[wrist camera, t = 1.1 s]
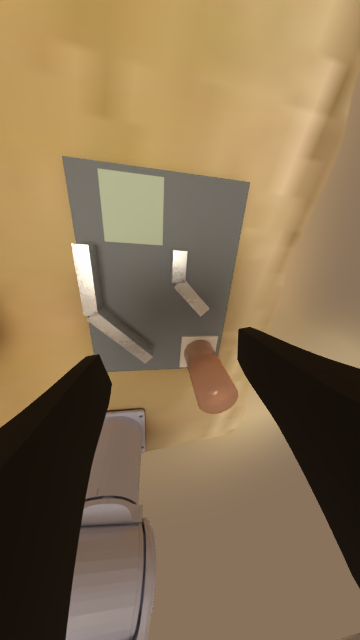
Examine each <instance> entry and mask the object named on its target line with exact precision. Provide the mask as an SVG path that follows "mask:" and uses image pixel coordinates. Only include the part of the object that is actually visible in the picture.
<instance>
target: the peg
mask: <svg viewBox="0 0 360 640" xmlns="http://www.w3.org/2000/svg"><path fill="white" fill-rule="evenodd" d="M184 357H185V360H186V364H187V367H188V371H189V374H190V378H191V381H192V385H193V388H194V392H195V396H196V399H197V403H198V406H199V408H200V409H201V410H202V411H204V412H206V413H210V414H216V413H221V412H223V411H226V410H228V409H229V408H230V407H232V406H233V405H234V404H235V402H236V400H237V398H238V391H237V389H236V387H235V385H234V384H233V382H232V380H231V379H230V377H229V375H228V373H227V372H226V370H225V368H224V366H223V365H222V363H221V361H220V359H219V358H218V356H217V354H216V353H215V351H214V349H213V347H212V346H211V344H210V343H209V342H207V341H205V340H195V341H193V342H191V343H189V344H188V345H187V347H186V348H185V351H184Z"/></svg>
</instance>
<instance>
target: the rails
mask: <svg viewBox="0 0 360 640" xmlns="http://www.w3.org/2000/svg"><path fill="white" fill-rule="evenodd" d="M71 245H72V250H73V256H74V262H75V268H76V274H77V279H78V285H79V291H80V297H81V303H82V309H83V314H84V316H90V317H89V318H88V319H87V321H88V322H90V323H91V324H92V325H94V326H95V327H97V328H98V329H99V330H101V331H102V332H103V333H105V334H106V335H107V336H109V337H110V338H111V339H113V340H114V341H115V342H117V343H118V344H119V345H121V346H122V347H123V348H125V349H126V350H127V351H129V352H130V353H131V354H133V355H134V356H135V357H137V358H138V359H139V360H141V361H142V362H143V363H147V362H148V361H149V360H150V359H151V358H152V357H153V346H152V345H150V344H149V343H148V342H147V341H145V340H144V339H143V338H142V337H141V336H139V335H138V334H137V333H136V332H134V331H133V330H132V329H131V328H130V327H128V326H127V325H126V324H125V323H123V322H122V321H121V320H120V319H119V318H117V317H116V316H115V315H114V314H113V313H111V312H110V311H109V310H108V309H106V308H105V307H104V306H103V299H102V291H101V282H100V274H99V266H98V257H97V249H96V245H94V244H71ZM186 264H187V251H184V250H171V262H170V280H171V282H172V285H173V287H174V288H175V289H176V291H177V292H178V293H179V294H180V295H181V296H182V297H183V298H184V299H185V300H186V301H187V302H188V304H189V305H190V306H191V307H192V308H193V309H194V310H195V311H196V312H197V313H198V314H199V315H200V317H201V316H202V315H203V314H204V313H205V312H207V311H208V310H209V309H210V308H209V307H208V306H207V305H206V304H205V303H204V301H203V300H202V299H201V298H200V297H199V296H198V294H197V293H196V292H195V291H194V290H193V289H192V288H191V286H190V285H189V284H188V283H187V282H186V281H185V277H186Z"/></svg>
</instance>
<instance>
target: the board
mask: <svg viewBox="0 0 360 640" xmlns="http://www.w3.org/2000/svg"><path fill="white" fill-rule="evenodd" d="M62 159H63V165H64V171H65V177H66V183H67V190H68V196H69V202H70V208H71V214H72V220H73V227H74V233H75V239H76V244H94V245H96V249H97V257H98V266H99V274H100V282H101V291H102V299H103V306H104V307H105V308H106V309H108V310H109V311H110V312H111V313H113V314H114V315H115V316H116V317H117V318H119V319H120V320H121V321H122V322H123V323H125V324H126V325H127V326H128V327H130V328H131V329H132V330H133V331H134V332H136V333H137V334H138V335H139V336H141V337H142V338H143V339H144V340H145V341H147V342H148V343H149V344H150V345H152V346H153V357H152V358H151V359H150V360H149V361H148V362H147V363H143V362H142V361H141V360H139V359H138V358H137V357H135V356H134V355H133V354H131V353H130V352H129V351H127V350H126V349H125V348H123V347H122V346H121V345H119V344H118V343H117V342H115V341H114V340H113V339H111V338H110V337H109V336H107V335H106V334H105V333H103V332H102V331H101V330H99V329H98V328H97V327H95V326H94V325H92V324H91V323H90V322H89V326H90V332H91V338H92V344H93V351H94V355H97V354H99V355H100V357H101V359H102V362H103V364H104V367H105V369H106V371H107V372H114V371H136V370H158V369H180V368H188V367H187V364H186V360H185V357H184V351H185V348H186V347H187V345H188V344H189V343H191V342H193V341H195V340H205V341H207V342H209V343H210V344H211V346H212V347H213V349H214V351H215V353H216V354H217V356H218V353H219V347H220V342H221V337H222V331H223V326H224V320H225V315H226V310H227V304H228V299H229V293H230V288H231V282H232V277H233V272H234V266H235V261H236V255H237V250H238V245H239V239H240V234H241V228H242V223H243V217H244V212H245V207H246V201H247V196H248V190H249V185H250V182H244V181H237V180H230V179H223V178H216V177H209V176H202V175H194V174H187V173H180V172H173V171H166V170H159V169H152V168H144V167H137V166H130V165H123V164H116V163H109V162H101V161H94V160H87V159H80V158H73V157H66V156H62ZM171 250H184V251H187V264H186V277H185V281H186V282H187V283H188V284H189V285H190V286H191V288H192V289H193V290H194V291H195V292H196V293H197V294H198V296H199V297H200V298H201V299H202V300H203V301H204V303H205V304H206V305H207V306H208V307H209V308H210V309H209V310H208V311H207V312H205V313H204V314H203V315H202V316H201V317H200V315H199V314H198V313H197V312H196V311H195V310H194V309H193V308H192V307H191V306H190V305H189V304H188V302H187V301H186V300H185V299H184V298H183V297H182V296H181V295H180V294H179V293H178V292H177V291H176V289H175V288H174V287H173V285H172V282H171V280H170V262H171ZM89 317H90V316H88V318H89Z"/></svg>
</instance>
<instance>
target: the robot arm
mask: <svg viewBox="0 0 360 640" xmlns="http://www.w3.org/2000/svg"><path fill="white" fill-rule="evenodd" d="M237 360H238V362H239V364H240V366H241V368H242V370H243V372H244V374H245V376H246V377H247V379H248V381H249V382H250V384H251V385H252V387H253V388H254V390H255V391H256V393H257V394H258V395H259V397H260V399H261V400H262V402H263V403H264V405H265V406H266V408H267V409H268V410H269V412H270V413H271V415H272V417H273V418H274V420H275V421H276V423H277V425H278V426H279V428H280V430H281V432H282V434H283V435H284V437H285V439H286V441H287V443H288V444H289V446H290V448H291V450H292V452H293V454H294V455H295V458H296V459H297V461H298V463H299V465H300V467H301V469H302V471H303V473H304V475H305V477H306V479H307V481H308V483H309V485H310V487H311V489H312V491H313V493H314V495H315V497H316V499H317V501H318V503H319V505H320V507H321V509H322V511H323V513H324V515H325V517H326V519H327V522H328V524H329V526H330V528H331V530H332V532H333V534H334V537H335V539H336V541H337V543H338V545H339V547H340V549H341V551H342V554H343V556H344V558H345V560H346V563H347V565H348V567H349V569H350V572H351V574H352V576H353V577H354V579H355V581H356V583H357V584H358V586H359V588H360V369H359V368H355V367H352V366H349V365H346V364H343V363H340V362H337V361H333V360H330V359H327V358H325V357H322V356H319V355H316V354H313V353H311V352H309V351H306V350H303V349H301V348H298V347H296V346H294V345H291V344H289V343H286V342H284V341H282V340H280V339H277V338H275V337H273V336H270V335H268V334H266V333H264V332H261V331H259V330H257V329H254V328H251V327H247V328H241V329H239V331H238V358H237ZM111 386H112V383H111V381H110V378H109V376H108V374H107V371H106V369H105V367H104V364H103V362H102V359H101V357H100V355H99V354H97V355H92V356H87V357H85V358H84V359H83V360H81V361H80V362H79V363H78V364H77V365H75V366H74V367H73V368H72V369H71V370H70V371H69V372H68V373H66V374H65V375H64V376H63V377H62V378H61V379H60V380H58V381H57V382H56V383H55V384H54V385H53V386H52V387H50V388H49V389H48V390H47V391H46V392H45V393H43V394H42V395H41V396H40V397H39V398H37V399H36V400H35V401H34V402H32V403H31V404H30V405H29V406H28V407H26V408H25V409H24V410H23V411H22V412H20V413H19V414H18V415H17V416H15V417H14V418H13V419H11V420H10V421H9V422H7V423H6V424H5V425H4V426H2V427H1V428H0V640H148V631H149V624H150V619H151V614H152V609H153V602H154V593H155V578H156V548H155V538H154V533H153V529H152V527H151V525H150V523H149V520H148V519H147V518H142V512H143V505H138V497H139V478H140V460H141V453H144V452H145V411H144V410H142V409H139V410H127V411H114V412H107V409H108V405H109V400H110V394H111ZM338 640H360V633H358V634H354V635H351V636H348V637H345V638H341V639H338Z"/></svg>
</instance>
